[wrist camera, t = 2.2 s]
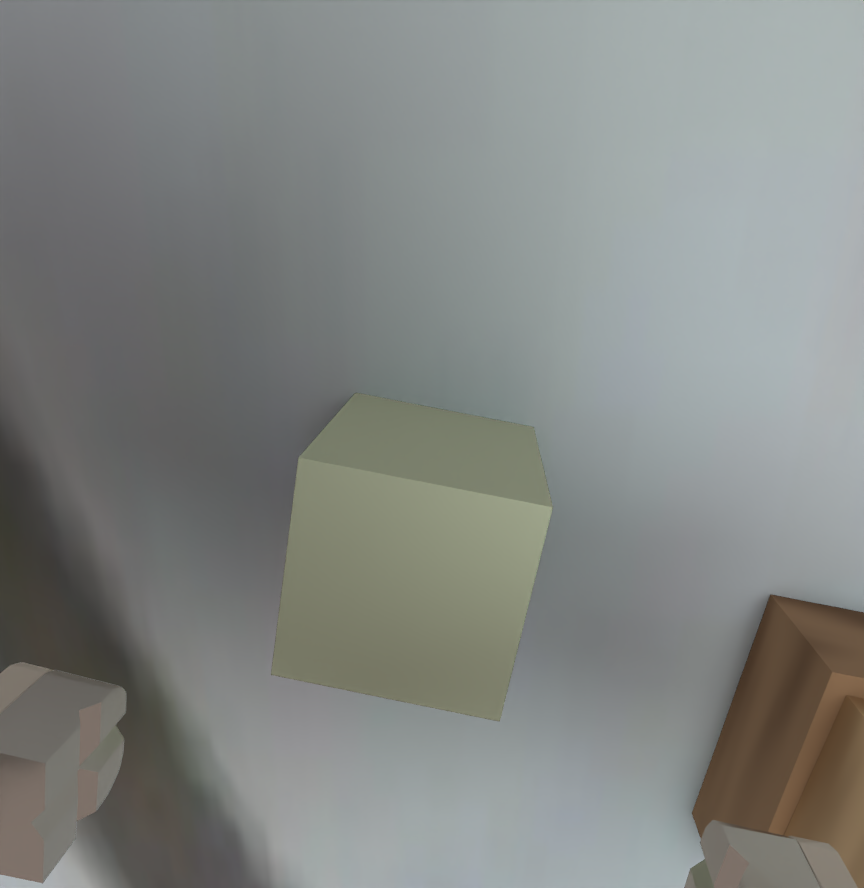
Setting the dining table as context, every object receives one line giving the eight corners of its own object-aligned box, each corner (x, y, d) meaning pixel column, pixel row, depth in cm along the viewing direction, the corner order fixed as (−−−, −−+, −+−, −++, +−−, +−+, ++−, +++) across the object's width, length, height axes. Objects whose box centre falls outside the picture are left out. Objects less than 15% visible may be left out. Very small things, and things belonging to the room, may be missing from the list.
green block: (332, 553, 20) (270, 675, 15) (355, 392, 19) (298, 457, 13) (496, 586, 20) (499, 721, 15) (533, 426, 19) (552, 507, 13)
